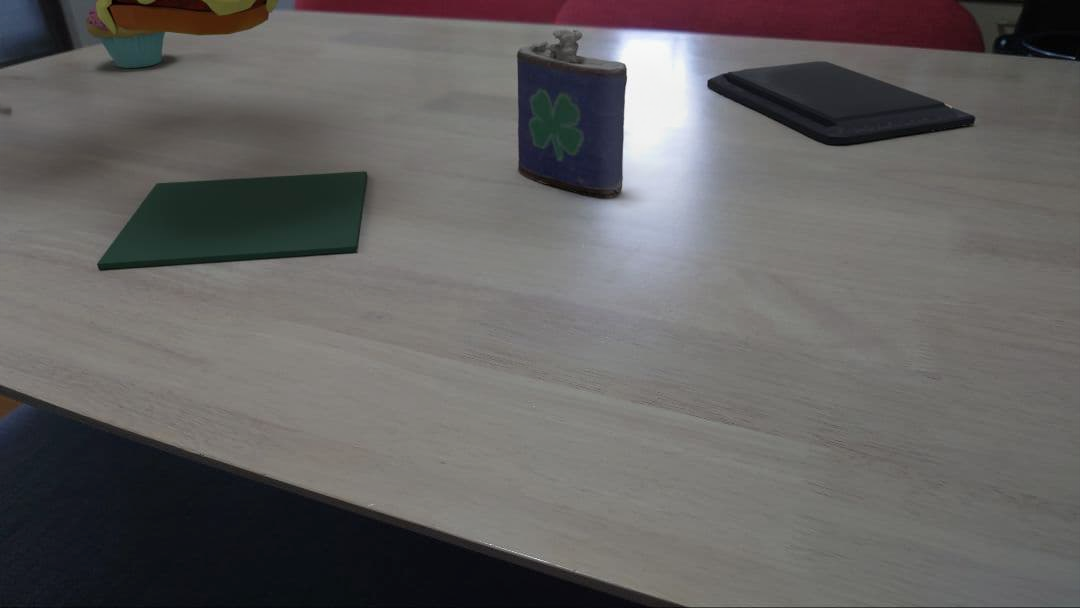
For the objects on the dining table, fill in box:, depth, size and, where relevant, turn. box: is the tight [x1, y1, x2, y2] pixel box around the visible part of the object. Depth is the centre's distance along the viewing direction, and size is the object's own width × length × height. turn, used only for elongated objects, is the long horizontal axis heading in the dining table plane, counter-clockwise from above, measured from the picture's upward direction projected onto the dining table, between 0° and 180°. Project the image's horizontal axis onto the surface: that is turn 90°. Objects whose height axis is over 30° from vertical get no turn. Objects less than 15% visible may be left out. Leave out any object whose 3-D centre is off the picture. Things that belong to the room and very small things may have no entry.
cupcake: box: [85, 5, 166, 69], centre depth 90 cm, size 9×8×12 cm
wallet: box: [706, 60, 976, 146], centre depth 75 cm, size 20×2×15 cm
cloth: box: [96, 170, 368, 270], centre depth 55 cm, size 15×13×1 cm
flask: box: [516, 29, 628, 199], centre depth 57 cm, size 9×3×11 cm, turn 47°
